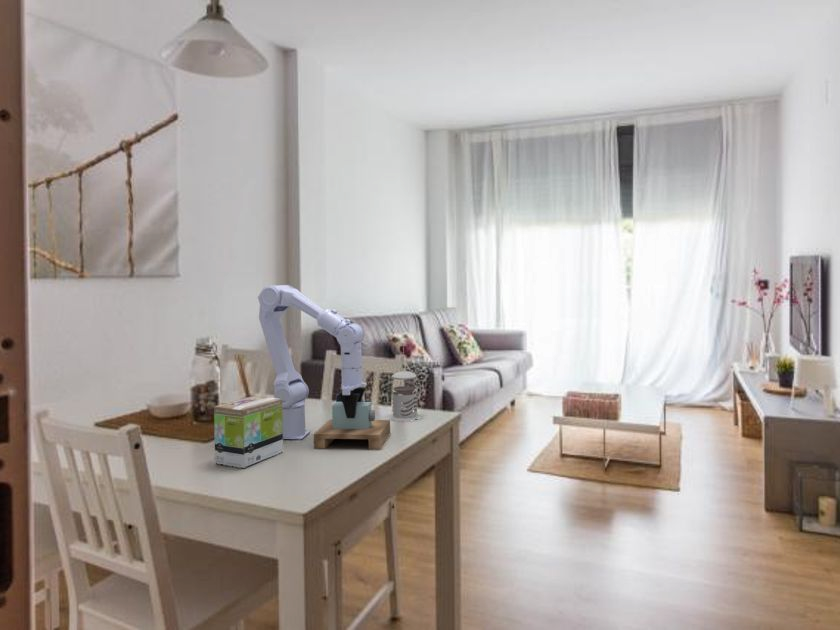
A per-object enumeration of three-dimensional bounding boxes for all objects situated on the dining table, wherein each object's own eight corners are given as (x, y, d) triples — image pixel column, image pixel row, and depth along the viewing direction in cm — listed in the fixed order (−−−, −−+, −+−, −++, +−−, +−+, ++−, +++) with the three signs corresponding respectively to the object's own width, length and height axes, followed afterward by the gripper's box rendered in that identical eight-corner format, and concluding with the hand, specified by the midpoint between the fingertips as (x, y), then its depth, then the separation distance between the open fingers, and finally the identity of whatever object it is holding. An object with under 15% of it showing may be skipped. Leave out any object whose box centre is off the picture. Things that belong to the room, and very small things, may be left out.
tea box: (245, 469, 143) (243, 409, 142) (214, 464, 147) (211, 405, 147) (284, 452, 157) (282, 397, 156) (255, 448, 161) (252, 394, 160)
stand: (314, 448, 159) (313, 433, 159) (330, 432, 175) (329, 419, 175) (379, 449, 157) (379, 434, 157) (390, 433, 173) (390, 420, 173)
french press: (383, 418, 192) (381, 341, 190) (409, 412, 200) (408, 338, 198) (404, 423, 185) (402, 343, 183) (430, 416, 193) (428, 340, 191)
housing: (332, 428, 164) (332, 405, 164) (337, 424, 169) (336, 401, 169) (372, 429, 163) (371, 405, 162) (376, 424, 168) (375, 402, 167)
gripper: (360, 371, 157) (361, 422, 158) (371, 363, 171) (372, 409, 172) (334, 371, 158) (335, 421, 159) (347, 363, 172) (348, 409, 173)
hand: (353, 415), depth 166 cm, fingers closed on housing, 5 cm apart
